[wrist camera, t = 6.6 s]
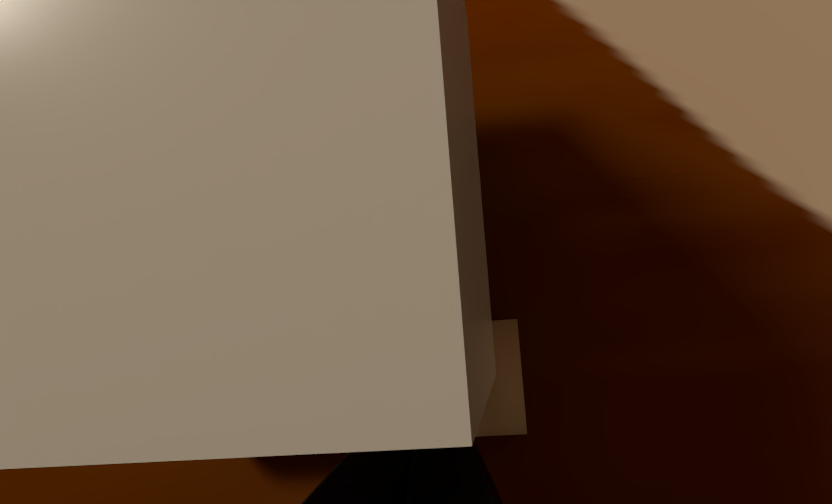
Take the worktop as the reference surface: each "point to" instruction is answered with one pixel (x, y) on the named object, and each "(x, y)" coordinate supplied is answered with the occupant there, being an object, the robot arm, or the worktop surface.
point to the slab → (238, 230)
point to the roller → (505, 385)
